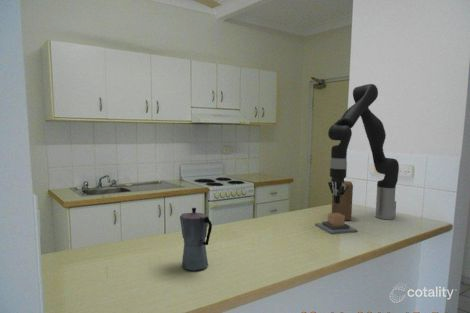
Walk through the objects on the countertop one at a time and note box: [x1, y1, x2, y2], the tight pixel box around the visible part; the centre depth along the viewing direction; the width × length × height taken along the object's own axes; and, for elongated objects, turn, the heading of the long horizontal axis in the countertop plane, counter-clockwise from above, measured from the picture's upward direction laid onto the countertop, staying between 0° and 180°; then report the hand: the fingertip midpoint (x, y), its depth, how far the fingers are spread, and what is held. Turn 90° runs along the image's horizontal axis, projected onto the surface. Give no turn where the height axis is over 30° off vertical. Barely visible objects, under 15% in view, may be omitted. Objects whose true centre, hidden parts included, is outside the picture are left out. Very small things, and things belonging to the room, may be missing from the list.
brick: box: [327, 212, 346, 226], centre depth 151 cm, size 6×6×6 cm
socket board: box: [314, 220, 358, 235], centre depth 152 cm, size 14×14×2 cm
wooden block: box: [331, 180, 354, 222], centre depth 170 cm, size 10×10×20 cm
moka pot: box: [179, 207, 213, 271], centre depth 106 cm, size 10×15×20 cm, turn 51°
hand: (336, 203), depth 151 cm, fingers closed
